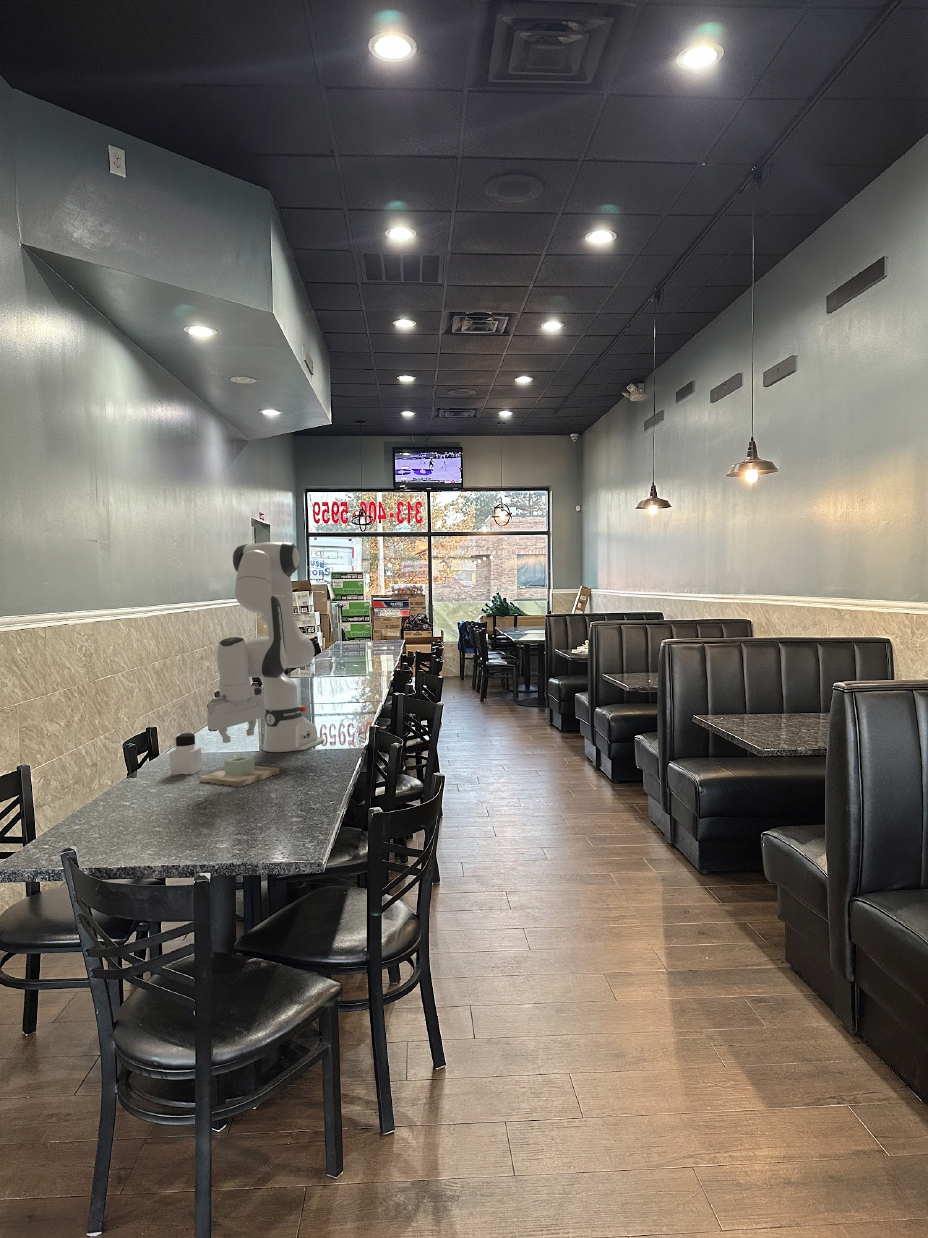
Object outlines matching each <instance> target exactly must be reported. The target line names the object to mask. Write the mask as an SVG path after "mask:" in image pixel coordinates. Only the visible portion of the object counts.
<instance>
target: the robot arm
mask: <svg viewBox="0 0 928 1238" xmlns="http://www.w3.org/2000/svg"><path fill="white" fill-rule="evenodd" d="M300 561H301V559H300V552H299V549H298V547H297V546H296V544H294V543H292V542H288V541H287V542H286V541H283V542H276V541H267V542H259V543H252V544H248V543H247V544H241V545H239V546H237V547H236V548H235V550H233V554H232V564H233V568H234V570H235V571H236V572H237V573H236V578H235V588H234V595H235V599H236V601H237V603H238V604H239V605H240V606H241V607H242V608H244V609H246V610H247V611H249V612H251V613H254V614H256V615H257V614H258V615H260V618H261V620H262V622H264V623H265V624H266V625H267V633H268V636H266V635H265V636H259V637H258V636H257V637H254V638H250V639H248V640H247V641H245V639H244V638H242V637H241V636H240V637H237V636H235V637H234V636H233V637H228V638H224V639H222V640H221V641H219V642H218V646H217V658H216V661H217V671H218V673H219V681H218V688H219V696H217V697H212V698H211V699H210V701H209V702H208V703H207V716H206V717H207V719H206V723H207V724H206V725H207V727H208V729H209V730H210V731H218V733H219V735H220V736H221V737H222V743H223V744H228V743H231V735H230V736H229V735H228V733H227V732H228V728H230V727H234V726H238V725H242V724H245V723H248V724H249V725H248V728H247V729H246V730H245V732H246V736H248V737H250V736H254V735H255V728H256V725H257V720H259V719H262V718H264V720H265V725H264V741H263V744H262V747H263V748H262V751H264V752H269V753H284V752H285V753H286V752H293V751H305V750H307V749H310V748H312V747H315V746H316V745H320V744H321V743H324V742H325V741H326V740H325V738H324V737H322V736H318V730H317V726H316V725H315V724H314V723H312V722H311V721H310V720H308V719H307V718H305V716H303V713H307V710H308V707H307V706H306V705H301V706H300V705H299V700H298V686H297V683H296V682H295V681H294V680H293V679H291V678H289V677H288V676H287V675H286V673H285V672H286V671H287V669H288V668H289V669H290V668H291V669H292V668H293V669H296V668H301V667H305V666H309V665H310V664H311V662H312V661H313V659H314V656H315V647H314V644H313V642H312V640H311V639H309V638H308V637H307V636H306V635H305V634H304V633H303V631H301V629H300V628H299V626H298V624H297V621H296V617H295V611H294V593H293V586H292V585H293V583H292V578H291V577H292V575H293V574H294V573H296V571H297V570H298V568H299V566H300ZM250 678H259V679H260V681H261V684H262V686H255V685H251V679H250Z"/></svg>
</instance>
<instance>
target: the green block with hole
mask: <svg viewBox="0 0 928 1238" xmlns="http://www.w3.org/2000/svg"><path fill="white" fill-rule="evenodd" d="M255 766H256V765H255V758H254V757H251V756H250V757H249V756H242V755H241V756H236V757H233V758H232V757H231V758H229V759H226V760H224V769H225V774H228V775H236V776H241V775H244V774H247V773H251V772H254V771H255Z"/></svg>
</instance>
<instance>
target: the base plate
mask: <svg viewBox="0 0 928 1238" xmlns="http://www.w3.org/2000/svg"><path fill="white" fill-rule="evenodd" d="M254 766H255V771H254V772H251V773H247V774H244V775H241V776H236V775H228V774H225V768H224V769H221V770H217V771H215V772H211V773H207V774H204V775H200V776H199V778H200V779H199V780H200V783H206V782H211V783H210V784H213V783H216V784H215V785H221V784H224V785H223V786H228V785H234V786H233V787H236V786H238V787H237V788H241V787H243V785H244V786H247V785H250V784H253V783H255V782H259V781H262V780H265V779H267V777H268V778H271V777H273V776H272V775H274V776H276V774H277V775H279V774H280V768H276V767H270V766H269V767H267V766H259V765H258V766H257V765H254ZM270 776H271V777H270ZM261 779H262V780H261ZM258 780H259V781H258ZM252 782H253V783H252ZM246 784H247V785H246Z"/></svg>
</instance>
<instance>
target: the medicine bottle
mask: <svg viewBox="0 0 928 1238" xmlns="http://www.w3.org/2000/svg"><path fill="white" fill-rule="evenodd" d="M173 739H174V740H173V741H174V742H173V743H174V748H175V749H174V750H172V751H170V752H169V766H170V767H169V768H170V775H171V774H172V775H171V776H174V775H173V774H185V775H184V776H189V774H193V775H194V774H196V773H197V772H200V771H201V770H203V761H202V760H203V759H202V758H203V757H202V747H201V746H196V735H195V734H194V733H193V732H192V733H191V732H183V733H182V732H181V733H177V734H176V735H174V737H173ZM187 774H188V775H187Z"/></svg>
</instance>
